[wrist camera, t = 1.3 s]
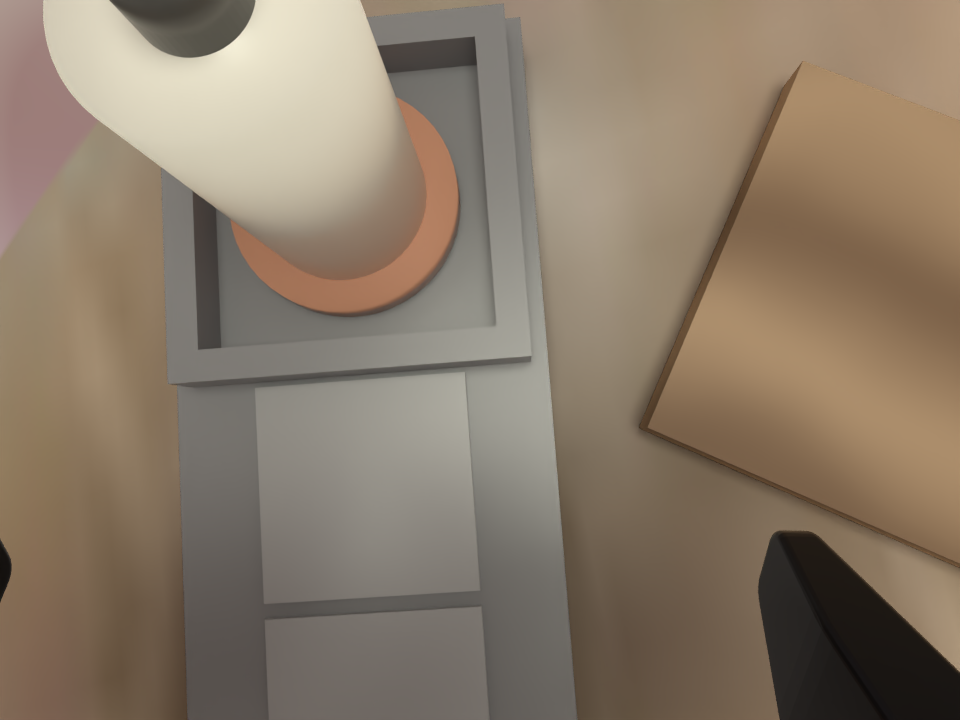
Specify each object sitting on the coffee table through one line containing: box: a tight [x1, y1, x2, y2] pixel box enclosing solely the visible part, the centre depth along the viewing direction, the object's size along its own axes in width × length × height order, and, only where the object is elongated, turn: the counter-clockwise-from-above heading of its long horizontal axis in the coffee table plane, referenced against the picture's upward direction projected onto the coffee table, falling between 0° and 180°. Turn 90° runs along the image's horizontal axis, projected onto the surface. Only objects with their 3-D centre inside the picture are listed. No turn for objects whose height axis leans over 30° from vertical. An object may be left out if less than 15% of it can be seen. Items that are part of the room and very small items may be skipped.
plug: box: [43, 0, 461, 317], centre depth 15 cm, size 6×6×12 cm
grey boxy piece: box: [161, 4, 577, 720], centre depth 20 cm, size 24×10×4 cm, turn 4°
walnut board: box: [639, 61, 960, 568], centre depth 21 cm, size 11×11×2 cm
